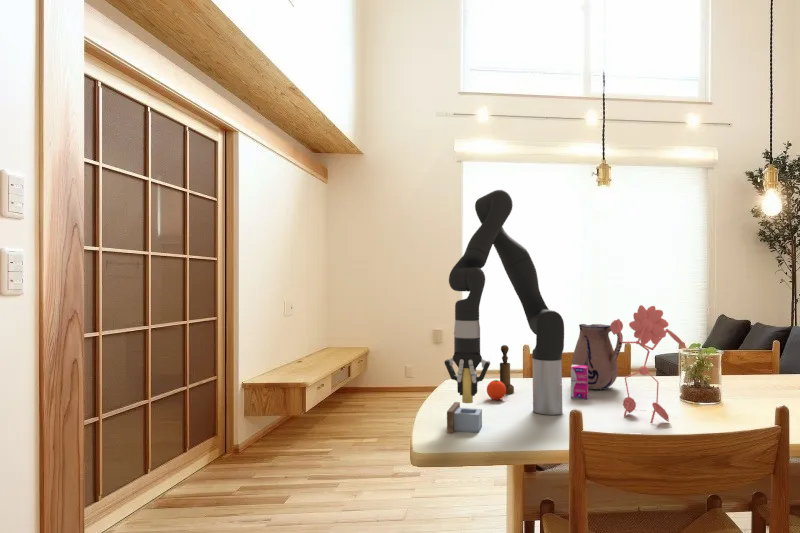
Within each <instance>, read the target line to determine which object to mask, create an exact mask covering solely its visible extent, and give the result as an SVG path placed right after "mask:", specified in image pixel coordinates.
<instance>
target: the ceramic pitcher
mask: <svg viewBox="0 0 800 533" xmlns="http://www.w3.org/2000/svg"><path fill="white" fill-rule="evenodd" d="M610 325H611V324H609V325H608V324H601V323H599V324H598V323H597V324H596V323H592V324H585V323H581V324H580V323H579V325H578V326H579V333H578V334H579V335H578V339H577V342H576V345H575V347H574V350H573V354H572V359H571V362H570V364H571V365H570V367H571V366H572V365H586V366H588V390H598V389H600V390H607V389H608V388H610V387H612V385H614V383H615V382H616V380H617V378H618V373H619V367H618V362H617V359H618V357H619V355H620V353H621V349H622V346H623V343H621V342H620V335H619V333H617V334H616V337H617V339H616V345H615V348H614V347H613V345H612V342H611V338H610V334H609V333H610V332H611V333H612V331H611V329H610ZM621 336H622V342H624V340H623V334H622V332H621Z"/></svg>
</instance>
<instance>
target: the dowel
mask: <svg viewBox="0 0 800 533" xmlns="http://www.w3.org/2000/svg"><path fill="white" fill-rule="evenodd" d="M472 383H473V382H472V377H471V373H470V368H463V373H462V395H461V396H462V397H461V400H462V403H464V404H473V401H474V398H473V397H474V396H472Z"/></svg>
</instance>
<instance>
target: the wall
mask: <svg viewBox="0 0 800 533" xmlns="http://www.w3.org/2000/svg"><path fill="white" fill-rule="evenodd" d="M458 408H461V402H459V401H454V402H453V404H452V405H451V406H450V407H449V408H448V410H446V433H447V434H454V432H455V431H454V413H455V411H456V410H457V409H458Z"/></svg>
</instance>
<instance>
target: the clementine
mask: <svg viewBox="0 0 800 533" xmlns="http://www.w3.org/2000/svg"><path fill="white" fill-rule="evenodd" d="M486 393H487V395H488V397H489V398H490V399H492V400H494V401H499V400H502V399H503V398H504V397H505V396H506V395H507V394H506V387H505V385H504V384H503V383H502V382H501V381H500V380H499V379H495V380H491V381H489V383H488V384H487V386H486Z"/></svg>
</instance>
